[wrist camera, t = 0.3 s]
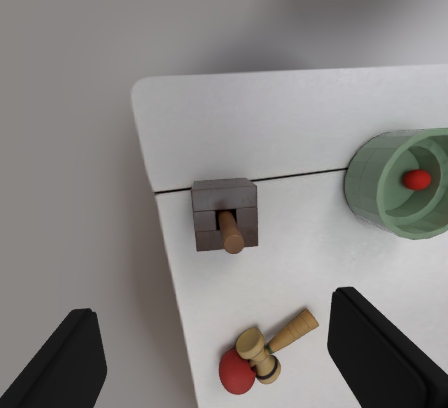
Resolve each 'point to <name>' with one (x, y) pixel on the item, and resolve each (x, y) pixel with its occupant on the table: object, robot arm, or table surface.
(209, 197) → the holder
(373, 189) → the mixing bowl
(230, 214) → the stick
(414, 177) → the cherry tomato
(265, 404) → the table surface
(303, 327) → the kendama
